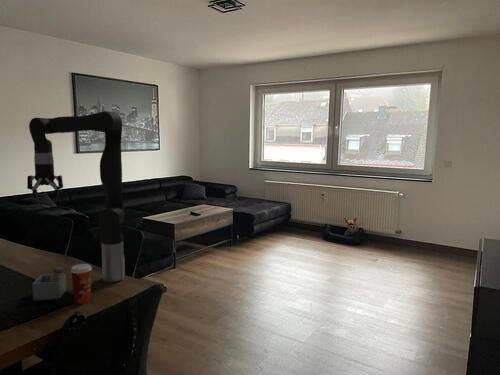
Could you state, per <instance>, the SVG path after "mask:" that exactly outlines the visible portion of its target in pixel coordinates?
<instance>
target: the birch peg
mask: <svg viewBox="0 0 500 375" xmlns="http://www.w3.org/2000/svg"><path fill="white" fill-rule="evenodd" d="M51 274H52V276H51V279H50V282H57V281H58V280H59V279H60V278H61V275H62V274H64V268H62V267H59V266H54V267H53V270H52V272H51Z"/></svg>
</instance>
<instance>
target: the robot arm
mask: <svg viewBox="0 0 500 375" xmlns="http://www.w3.org/2000/svg"><path fill="white" fill-rule="evenodd" d="M28 130H29V134H30V135H31V139H32V142H33V149H34V150H33V151H34V156H33V160H34V174H35V175H27V180H26V181H27V187H26V188H27V190H31V191H32V197H33V198H34V199H38V188H39V187H40V186H51V187H52V188H53V189H54V190H53V191H54V192H53V193H54V195H53V196H54V199H59V198H58V197H60V190H61V189H63V188H64V182H63V176H62V175H55V166H54V163H55V160H54V155H53V143H52V141H51V140H50V139H48V138H47V136H46V135H50V134H58V133H59V134H64V133H65V134H66V133H68V134H69V133H76V132H83V131H93V132H101V133H104V139H105V140H104V141H105V142H104V148H103V150H102V151H103V152H102V154H101V156H100V159H99V160H100V161H99V177H100V182H101V185H102V188H103V190H104V192H105V208H104V209H103V210H101V211H100V213H99V215H98V231H99V237H100V241H101V263H102V264H101V265H102V266H101V267H102V268H101V269H102V272H101V273H102V281H103V282H108V283H114V282H118V281H124V278H125V276H126V270H125V269H126V268H125V266H126V265H125V261H126V260H125V255H124V235H123V234H122V233H121V224H122V223H123V221H124V220H125V215H126V214H125V207H124V200H123V199H124V198H123V165H122V164H123V163H122V134H123V121H122V118H121V116H120V115H119V114H118V113H117V112H115V111H107V110H104V111H100V112H95V113H92V114H87V115H86V114H85V115H77V116H76V115H73V116H71V115H70V116H57V117H53V118H48V117H46V118H44V117H34V118H31V120H30V121H29V123H28ZM55 179H56V182H57V183H56V182H55ZM34 180H35V181H36V182H35V184H34V185H33V181H34Z"/></svg>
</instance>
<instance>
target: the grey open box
mask: <svg viewBox="0 0 500 375" xmlns="http://www.w3.org/2000/svg"><path fill="white" fill-rule="evenodd" d="M51 276H52V273H51V274H40V276H38V278H36V280H34V282H32V284H31V285H32V301H34V302H36V301H38V302H39V301H51V300H52V301H53V300H54V299H55V300H60V299H61V298H62V296H63V295H64V293H65V292H66V291H67V278H66V273H62V275H61V278H60V279H59V280H58V281H57V282H50V279H51ZM55 300H54V301H55Z"/></svg>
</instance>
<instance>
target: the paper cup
mask: <svg viewBox="0 0 500 375" xmlns="http://www.w3.org/2000/svg"><path fill="white" fill-rule="evenodd" d="M92 270H93V267H92V266H91V265H90V264H89V263H78V264H75V265H72V266H71V269H70V273H71V280H72V288H73V298H74V303H75V304H85V303H88V302H90V300H91V293H92V292H91V290H92V289H91V285H92V284H91V283H92Z"/></svg>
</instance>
